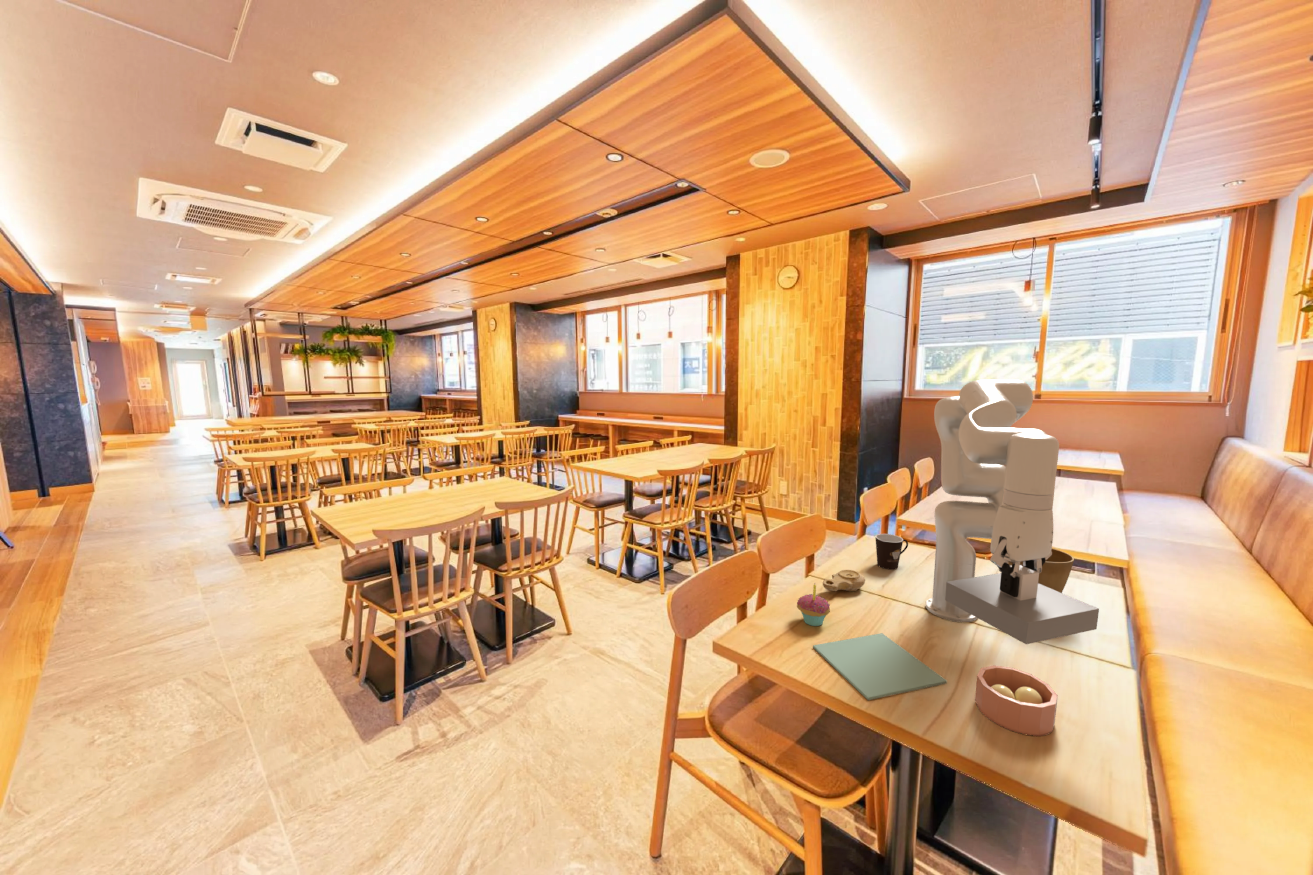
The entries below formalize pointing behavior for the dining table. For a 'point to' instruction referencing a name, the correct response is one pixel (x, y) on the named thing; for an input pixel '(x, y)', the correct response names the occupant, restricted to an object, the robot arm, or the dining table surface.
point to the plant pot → (1055, 570)
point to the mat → (878, 666)
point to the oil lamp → (844, 581)
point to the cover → (1022, 607)
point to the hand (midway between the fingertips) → (1018, 591)
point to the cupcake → (813, 608)
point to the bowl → (1016, 700)
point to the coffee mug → (889, 550)
